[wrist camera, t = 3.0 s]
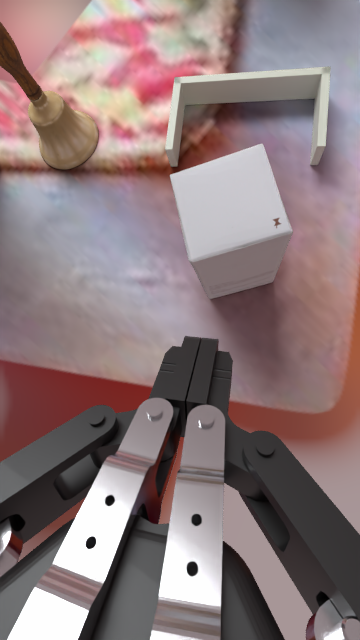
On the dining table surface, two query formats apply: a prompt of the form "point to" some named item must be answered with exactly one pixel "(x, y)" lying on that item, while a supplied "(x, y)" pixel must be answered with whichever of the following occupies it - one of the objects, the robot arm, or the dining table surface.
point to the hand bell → (51, 115)
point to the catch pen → (251, 98)
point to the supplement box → (232, 221)
